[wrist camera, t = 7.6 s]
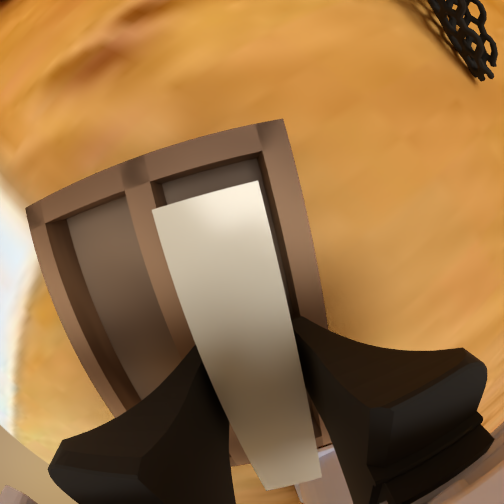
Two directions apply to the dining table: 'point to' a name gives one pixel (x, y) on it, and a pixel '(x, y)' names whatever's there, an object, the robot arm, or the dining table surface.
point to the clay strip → (242, 326)
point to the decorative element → (467, 34)
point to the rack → (162, 257)
